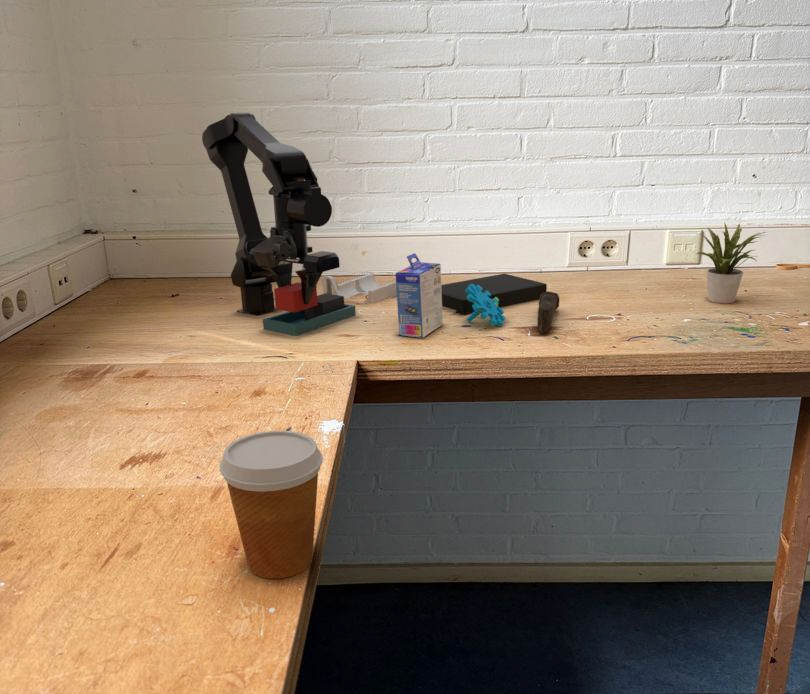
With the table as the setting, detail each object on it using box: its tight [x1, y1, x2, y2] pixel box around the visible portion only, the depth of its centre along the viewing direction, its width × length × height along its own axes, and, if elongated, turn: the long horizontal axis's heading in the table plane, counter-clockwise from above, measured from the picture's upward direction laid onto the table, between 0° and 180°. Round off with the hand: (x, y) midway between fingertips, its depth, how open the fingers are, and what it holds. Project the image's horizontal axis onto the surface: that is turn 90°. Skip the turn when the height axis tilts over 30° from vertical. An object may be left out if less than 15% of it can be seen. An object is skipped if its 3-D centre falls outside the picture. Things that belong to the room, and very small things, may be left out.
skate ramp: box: [321, 270, 397, 305], centre depth 180 cm, size 15×13×5 cm
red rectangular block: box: [273, 282, 318, 313], centre depth 154 cm, size 5×6×4 cm
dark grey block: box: [304, 293, 345, 320], centre depth 161 cm, size 5×6×4 cm
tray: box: [262, 303, 357, 337], centre depth 158 cm, size 9×18×2 cm, turn 144°
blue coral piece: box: [465, 284, 507, 327], centre depth 156 cm, size 11×6×10 cm
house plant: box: [695, 221, 766, 304], centre depth 164 cm, size 14×14×16 cm
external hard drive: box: [441, 273, 548, 315], centre depth 174 cm, size 14×23×3 cm, turn 124°
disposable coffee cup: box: [219, 430, 324, 579], centre depth 76 cm, size 10×10×12 cm
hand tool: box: [537, 290, 560, 334], centre depth 155 cm, size 19×4×5 cm, turn 164°
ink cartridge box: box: [395, 252, 444, 339], centre depth 150 cm, size 10×6×14 cm, turn 155°
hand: (296, 302), depth 154 cm, fingers closed on red rectangular block, 5 cm apart
